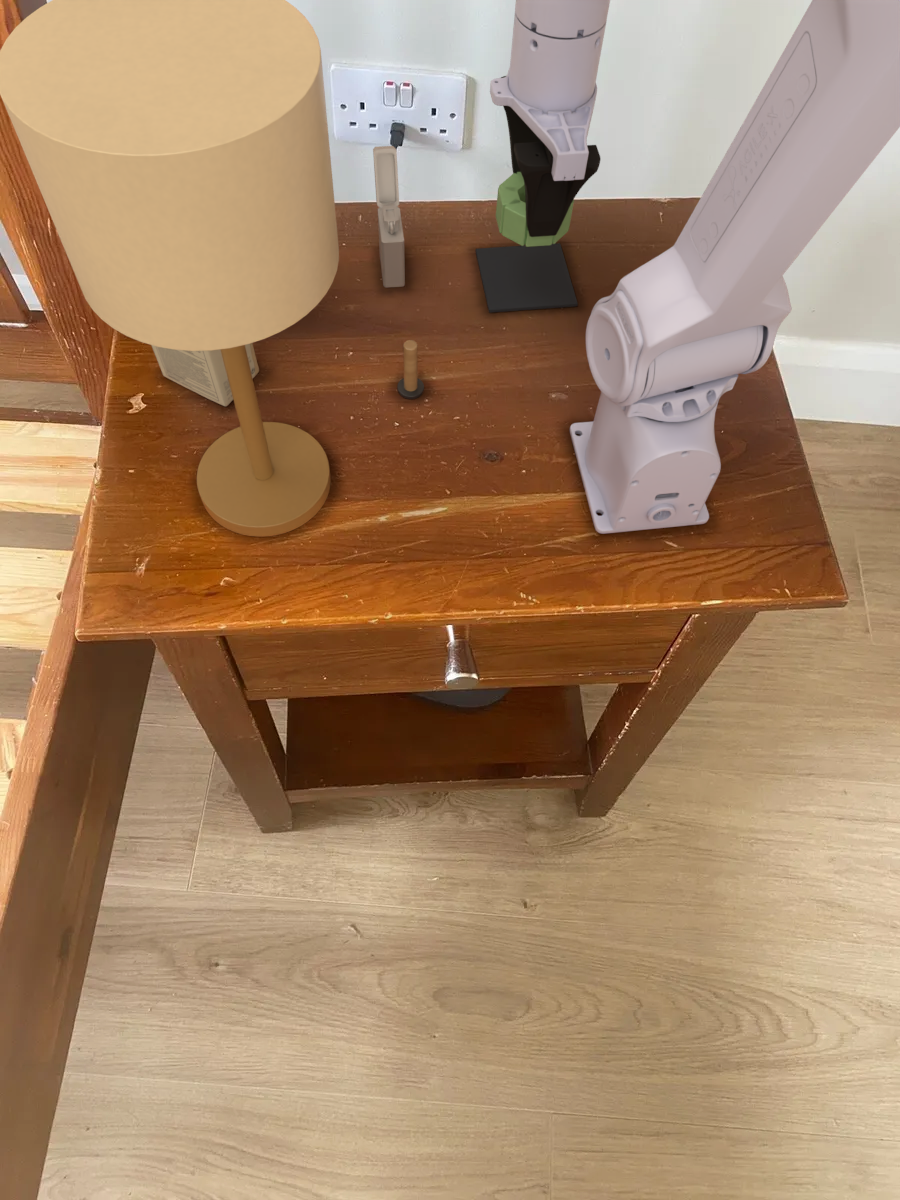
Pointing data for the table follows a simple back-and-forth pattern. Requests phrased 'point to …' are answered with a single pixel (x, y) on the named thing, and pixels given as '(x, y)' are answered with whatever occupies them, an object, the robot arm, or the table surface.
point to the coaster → (525, 278)
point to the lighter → (389, 216)
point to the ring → (521, 214)
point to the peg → (410, 373)
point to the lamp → (191, 200)
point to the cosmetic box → (201, 371)
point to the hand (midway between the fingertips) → (534, 206)
